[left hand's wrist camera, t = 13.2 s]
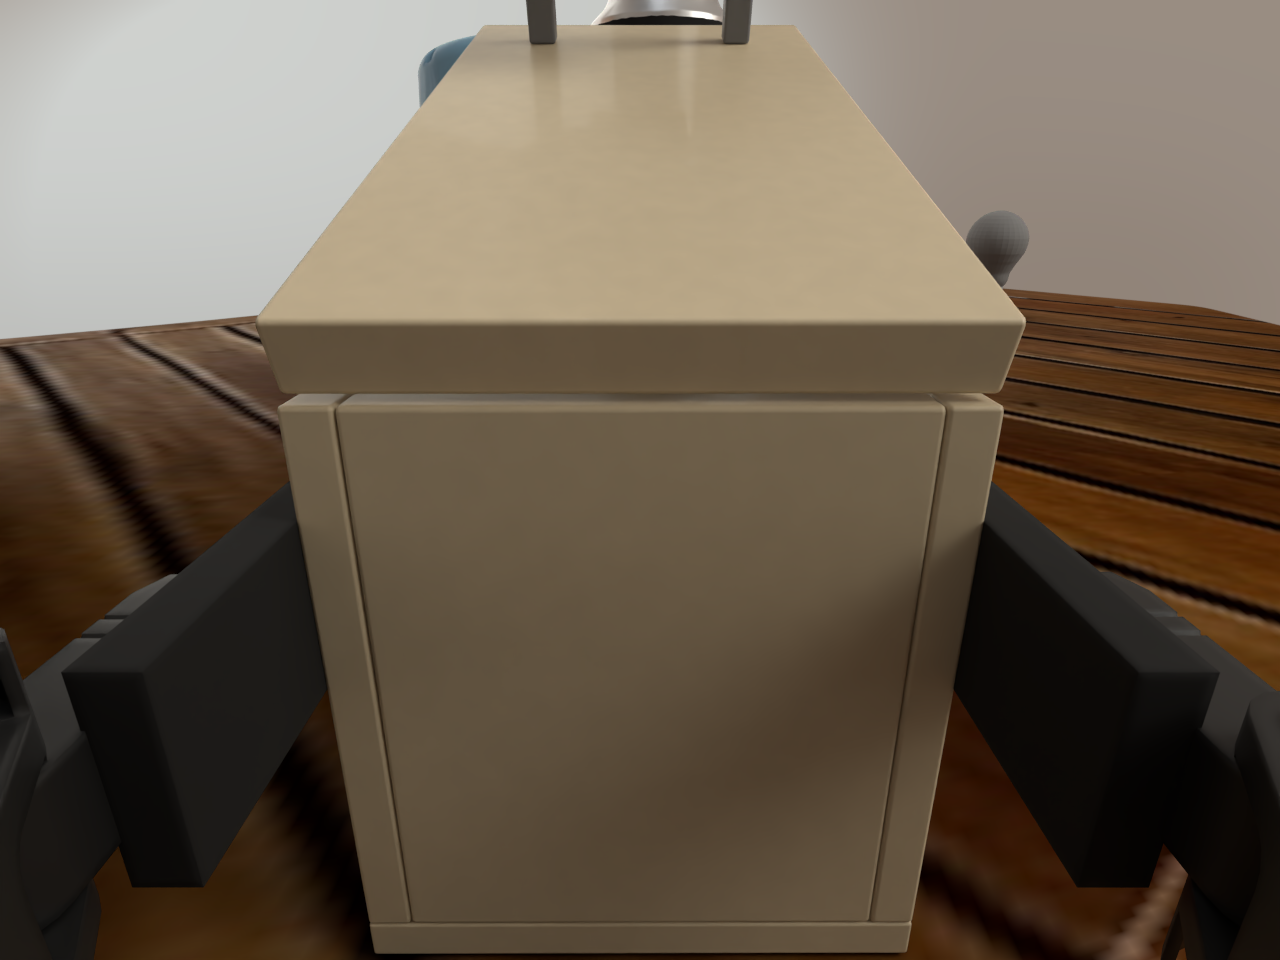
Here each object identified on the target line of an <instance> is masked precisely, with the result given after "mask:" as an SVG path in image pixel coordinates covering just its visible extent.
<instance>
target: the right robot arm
mask: <svg viewBox="0 0 1280 960" xmlns="http://www.w3.org/2000/svg"><path fill="white" fill-rule="evenodd" d="M722 20H723V9H722V8H721V7H720V5H719V2H718V0H608V3H607V5H606V7H605V9H604V10H603V11H602V12H601V14H600V15H599V16H598V17H597V18H596V19H595V20H594V21H593V23H592V24H591V25H722ZM475 36H476V35H475ZM475 36H470V37H465V38H461V39H457V40H454V41H451V42H448V43H445V44H443V45H440V46H438V47H436V48H434V49H433V50H431V51H430V52H429V53H428V54H427V55H426V56H425V57H424V58H423V60H422V62H421V64H420V67H419V71H418V80H419V99H420V107H421V106H422V104H423V103H424V102H425V101H426V99H427V98H428V97H429V95H430V94H431V93H432V92H433V90H434V89H435V88H436V86H437V85H438V84H439V83H440V81H441V80H442V79H443V77H444V76H445V75H446V74H447V72H448V71H449V70H450V68H451V67H452V66H453V64H454V63H455V62H456V61H457V59H458V58H459V57H460V55H461V54H462V53H463V52H464V50H465V49H466V48H467V46H468V45H469V44H470V43H471V41H472V40H473V39H474V37H475Z"/></svg>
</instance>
